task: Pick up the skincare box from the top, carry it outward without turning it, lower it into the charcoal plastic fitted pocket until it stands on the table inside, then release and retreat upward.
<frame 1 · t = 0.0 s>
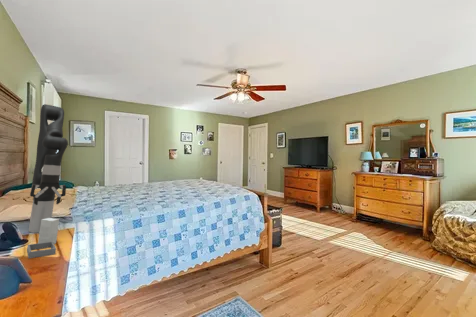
hand: (47, 204, 118), 17 cm above the table, tool pointing down, fingers open, 8 cm apart
skincare box: (46, 244, 110), on the table
fitted pocket: (41, 252, 100), on the table
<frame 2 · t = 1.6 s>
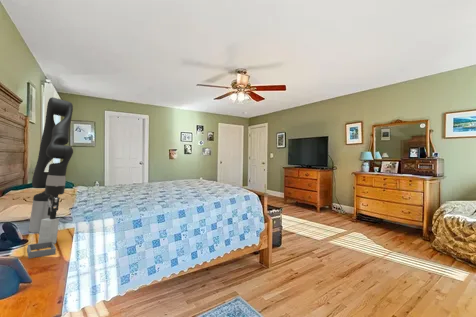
hand: (51, 217, 111), 13 cm above the table, tool pointing down, fingers open, 8 cm apart
nothing on the table moved.
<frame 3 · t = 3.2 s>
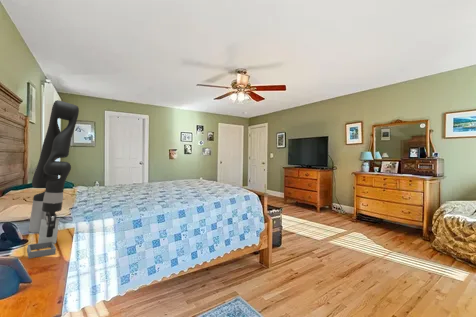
hand: (48, 234, 111), 4 cm above the table, tool pointing down, fingers closed on skincare box, 7 cm apart
skincare box: (46, 244, 110), on the table, touching gripper
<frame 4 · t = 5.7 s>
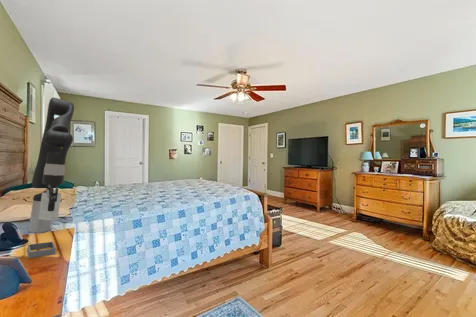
hand: (49, 209, 104), 19 cm above the table, tool pointing down, fingers closed on skincare box, 7 cm apart
skincare box: (48, 219, 103), point 14 cm above the table, touching gripper
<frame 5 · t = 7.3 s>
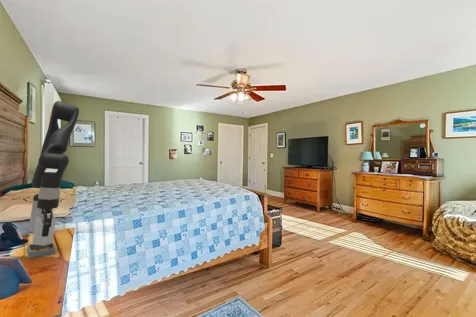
hand: (43, 233, 101), 8 cm above the table, tool pointing down, fingers closed on skincare box, 7 cm apart
skincare box: (42, 244, 101), point 4 cm above the table, touching gripper
when the fingers open (6 cm above the table, at t = 8.3 s): skincare box drops 1 cm, resting in fitted pocket.
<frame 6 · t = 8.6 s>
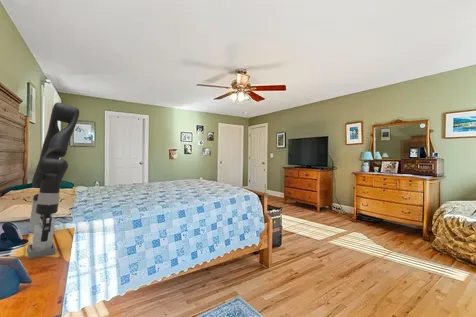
hand: (42, 238, 101), 6 cm above the table, tool pointing down, fingers open, 8 cm apart
skincare box: (41, 252, 101), resting in fitted pocket
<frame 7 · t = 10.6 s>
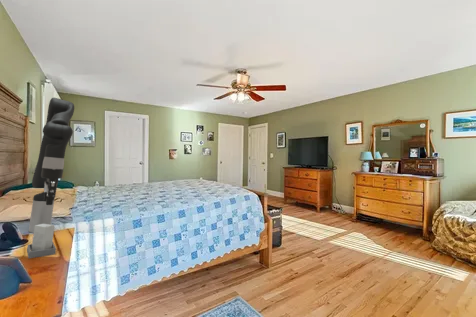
hand: (47, 203, 102), 22 cm above the table, tool pointing down, fingers open, 8 cm apart
nothing on the table moved.
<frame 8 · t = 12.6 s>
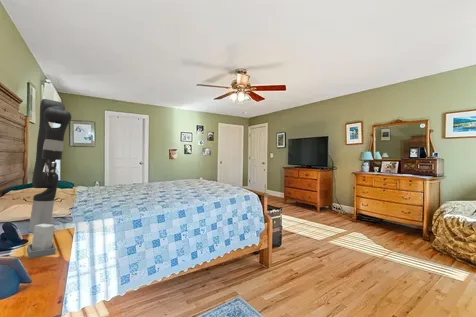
hand: (48, 182, 109), 30 cm above the table, tool pointing down, fingers open, 8 cm apart
nothing on the table moved.
at the end: skincare box 0.4 cm off-centre on the fitted pocket, point 0.0 cm above the fitted pocket's base; skincare box tilted 0°; the gripper is holding nothing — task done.
